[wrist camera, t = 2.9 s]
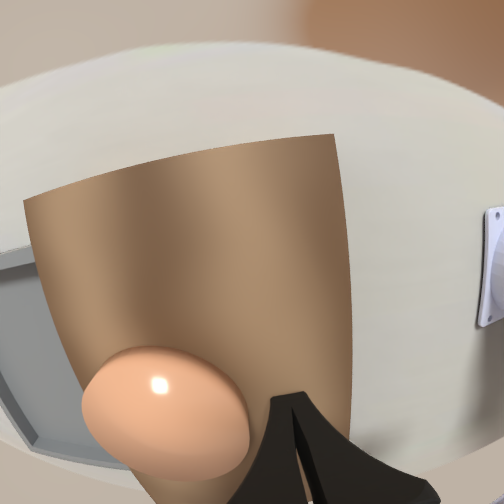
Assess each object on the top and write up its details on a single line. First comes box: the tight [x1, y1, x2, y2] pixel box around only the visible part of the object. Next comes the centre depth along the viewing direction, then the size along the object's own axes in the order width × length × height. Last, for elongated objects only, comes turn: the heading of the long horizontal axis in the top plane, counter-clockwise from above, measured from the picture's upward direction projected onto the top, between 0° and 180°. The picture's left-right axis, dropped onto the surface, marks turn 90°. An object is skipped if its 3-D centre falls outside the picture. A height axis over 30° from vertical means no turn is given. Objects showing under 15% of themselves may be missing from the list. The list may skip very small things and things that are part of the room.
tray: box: [0, 245, 131, 471], centre depth 14 cm, size 12×16×2 cm
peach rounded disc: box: [82, 346, 250, 482], centre depth 11 cm, size 7×7×2 cm
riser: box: [23, 134, 352, 504], centre depth 13 cm, size 12×20×4 cm, turn 9°
